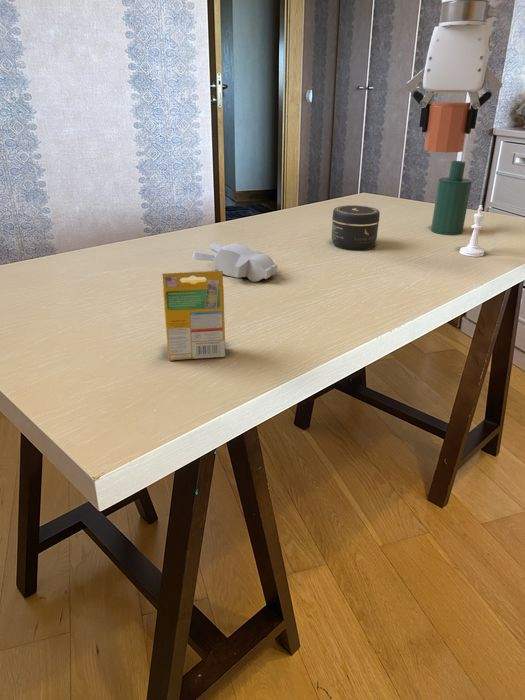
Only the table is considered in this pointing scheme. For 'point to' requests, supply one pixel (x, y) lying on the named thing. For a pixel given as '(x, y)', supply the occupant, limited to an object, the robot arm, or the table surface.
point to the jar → (355, 227)
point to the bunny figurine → (239, 261)
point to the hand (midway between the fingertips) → (446, 131)
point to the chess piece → (474, 237)
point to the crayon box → (194, 315)
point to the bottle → (451, 201)
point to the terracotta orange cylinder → (446, 126)
